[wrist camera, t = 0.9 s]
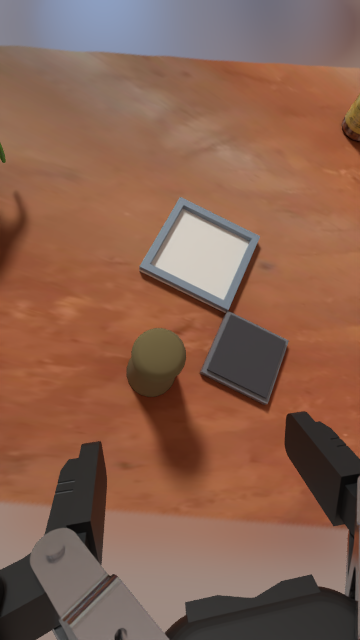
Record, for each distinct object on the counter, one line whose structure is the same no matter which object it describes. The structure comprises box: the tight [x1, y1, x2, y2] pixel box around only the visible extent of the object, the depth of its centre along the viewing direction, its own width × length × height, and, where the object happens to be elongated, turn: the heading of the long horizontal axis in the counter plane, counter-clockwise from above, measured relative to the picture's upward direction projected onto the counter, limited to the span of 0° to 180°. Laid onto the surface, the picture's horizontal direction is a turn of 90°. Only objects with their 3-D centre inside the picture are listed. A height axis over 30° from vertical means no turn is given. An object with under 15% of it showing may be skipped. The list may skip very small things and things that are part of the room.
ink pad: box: [200, 311, 288, 405], centre depth 41 cm, size 9×9×2 cm
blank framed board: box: [139, 197, 260, 313], centre depth 45 cm, size 13×13×1 cm
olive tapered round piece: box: [127, 328, 186, 397], centre depth 34 cm, size 6×6×11 cm
